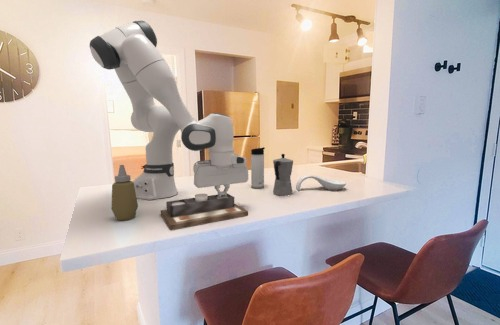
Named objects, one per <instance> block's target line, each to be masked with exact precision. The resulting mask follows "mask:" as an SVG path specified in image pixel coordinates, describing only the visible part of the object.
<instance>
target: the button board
mask: <svg viewBox="0 0 500 325" xmlns="http://www.w3.org/2000/svg"><path fill="white" fill-rule="evenodd" d="M207 196H208V201H201V202H196V201H195V197H190V198H184V199H176V200H169V201H168V200H167V201H166V202H165V203H166V205H165V206H166V209H163V210H161V209H160V216H161V217H162V219H163V221H164V222H165V223H166V225H167V227H168V228H169V229H170V231H173V230H174V231H175V230H179V229H184V228H185V229H186V228H190V227H195V226H199V225H206V224H210V223H211V224H212V223H216V222H220V221H221V222H222V221H226V220H232V219H238V218H241V217H242V218H243V217H248V216H249V211H248V210H246V209H245V208H243V207H242V206H240V205H238V204H236V203H235V196H233V195H231V194H230V193H228V192H227V196H228V198H221V199H218V198H216V197H218V194H211V195H207ZM175 202H184V203H185V204H180V205H174V206H172V203H175Z"/></svg>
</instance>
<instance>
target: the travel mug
mask: <svg viewBox="0 0 500 325" xmlns="http://www.w3.org/2000/svg"><path fill="white" fill-rule="evenodd" d="M265 149H266V147H257V148H252V149H251V153H250V154H251V156H250V164H251V166H250V167H251V169H250V170H251V172H250V174H251V177H250V178H251V180H250V181H251V183H250V184H251V185H250V186H251V188H252V189H254V190H259V189H260V190H263V189H265V188H264V187H265V153H264V152H265Z"/></svg>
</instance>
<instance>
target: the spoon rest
mask: <svg viewBox="0 0 500 325" xmlns="http://www.w3.org/2000/svg"><path fill="white" fill-rule="evenodd" d="M307 179H314V180H315V181H317V182H318V183H319V184H320V185H321V186H322V187H323V188H324V190H327V189H329V190H328V191H339V190H342V189H343V188H344V187H345V186H346V185H347V183H346V182H345V181H342V180H336V179H332V178H331V179H330V178H329V179H328V178H323V177H320V176H317V175H314V174H313V175H312V174H305V175H304V176H301V177H300V178H299V179H298V180H297V182H296V185H295V189H296V190H297V191H301V186H302V184H303V182H304V181H305V180H307Z"/></svg>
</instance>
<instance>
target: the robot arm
mask: <svg viewBox="0 0 500 325" xmlns="http://www.w3.org/2000/svg"><path fill="white" fill-rule="evenodd" d="M157 45H158V38H157V36H156V33H155V31H154V29H153V28H152V27H151V25H150V24H149V23H147V22H146V21H145V20H135V21H132V22H130V23H126V24H123V25H119V26H116V27H115V28H113V29H111V30H108V31H106V32H104V33H103V34H101V35H97V36H95V37H94V38H92V39H91V40H90V41H89V49H90V53H91V55H92V58H93V59H94V61H95V62H96V63H97V64H98V65H99V66H100V67H101V68H103V69H106V70H109V71H110V70H114V71H115V73H116V75H117V78H118V80H119V81H120V83H121V85H122V86H123V89H124V90H125V93H127V97H128V98H129V99H130V103H131V106H132V113H131V117H130V122H131V125H132V127H134V129H135V130H137V131H142V132H144V133H145V132H146V133H153V134H152V136H151V137H152V138H151V140H150V141H149V142H148V143H147V144H146V145H145V161H146V164H144V165H141V166H140V167H141V168H140V169H143V171H142V173H141V174H140V175H138V176H137V177H136V178H135V179H134V180H133V181H132V182H133V183H134V187H135V192H136V198H137V199H140V200H147V201H151V200H152V201H153V200H157V199H165V198H169V197H175V196H176V195H178V193H179V191H178V189H177V186H176V182H175V176H174V175H175V167H174V166H175V164H174V162H173V160H174V159H173V145H174V141H175V138H176V135H177V133H178V132H179V131H180V132H181V137H180V139H181V142H182V144H183V146H184V147H185V148H186V149H188V150H190V151H192V152H193V151H194V152H200V151H202V150H206V149H208V159H206V160H197V162H195V163H193V168H192V171H193V172H194V174H193V185H194V186H195V187H196V188H198V189H202V188H210V187H214V189H215V191H216V192H217V195H218V197H227V193H228V191H229V189H230V185H233V184H234V185H235V184H242V183H243V184H244V183H247V182H248V180H249V168H248V165H247V164H246V163H247V158H246V157H244V156H241V155H238V154H236V153H235V154H234V152H235V149H234V146H233V145H234V144H233V143H234V138H235V136H234V124H233V120H232V117H230V116H229V115H227V114H225V113H218V112H212V113H209V114H208V115H207V116H206V117H204V118H202V119H200V120H197V119H195V118H194V117H193V115H192V114H191V112H190V110H189V109H188V108H187V106H186V104H185V103H184V102H183V99H182V97H181V95H180V92H179V90H178V89H179V88H178V85H177V81H176V79H175V76H174V74H173V71H172V69H171V67H170V66H169V64H168V62H167V61H166V60H165V58H164V57H163V55H162V54H161V52H160V51H159V49H158V48H157ZM154 99H155V100H156V101H157V102H159V103H160V104H161V105H160V106H157V105H156V103H155V100H154ZM221 186H223V187H224V189H223V190H222V191H221Z"/></svg>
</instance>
